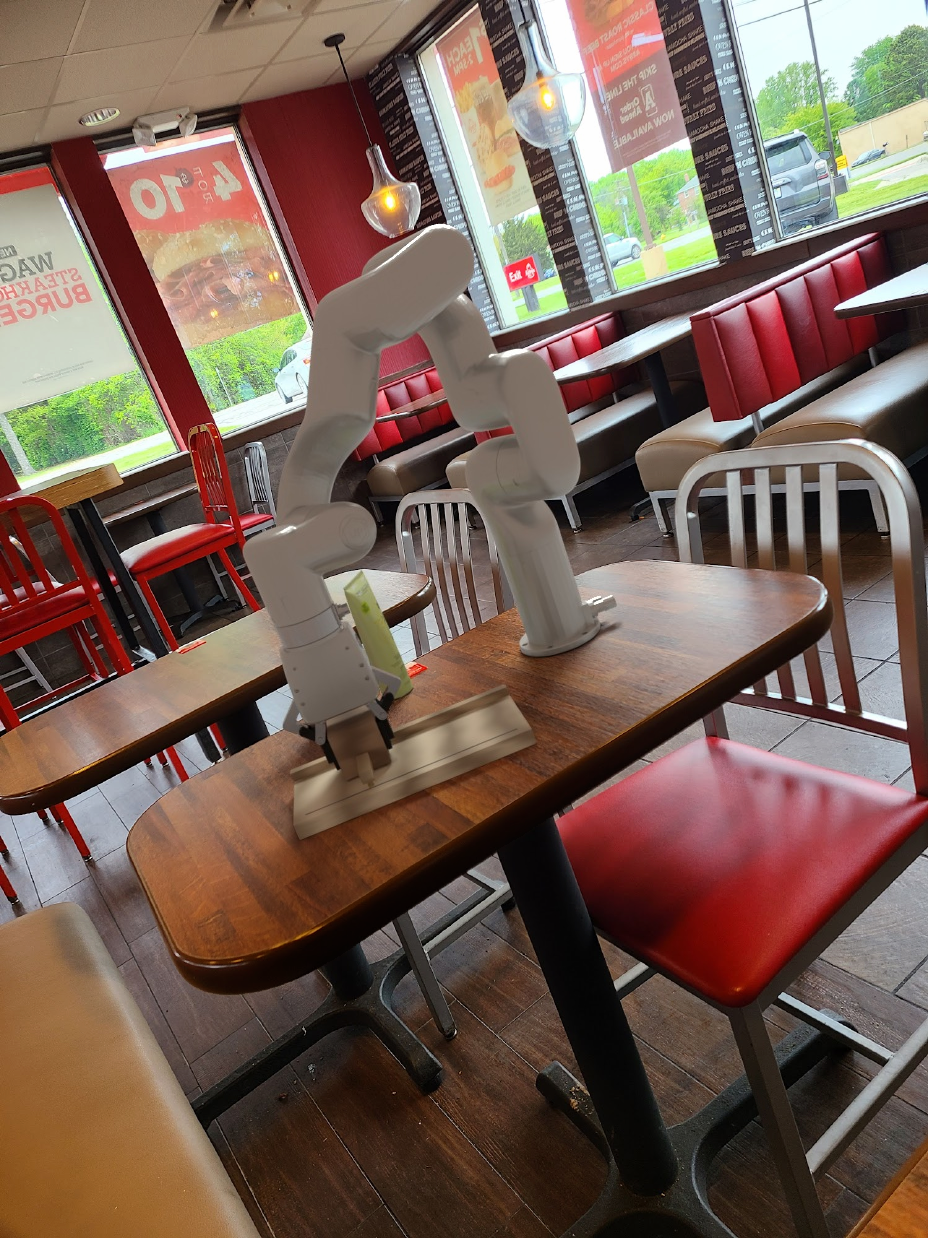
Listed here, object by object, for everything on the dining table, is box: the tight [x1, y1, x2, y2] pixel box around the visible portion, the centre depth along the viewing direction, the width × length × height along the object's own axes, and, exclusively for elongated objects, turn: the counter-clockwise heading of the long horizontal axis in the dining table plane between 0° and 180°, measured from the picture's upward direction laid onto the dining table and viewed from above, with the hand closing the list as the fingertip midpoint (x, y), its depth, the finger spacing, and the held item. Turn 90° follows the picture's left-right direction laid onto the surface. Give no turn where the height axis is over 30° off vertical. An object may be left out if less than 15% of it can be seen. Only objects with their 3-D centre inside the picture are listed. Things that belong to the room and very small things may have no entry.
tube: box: [342, 569, 414, 700], centre depth 131 cm, size 6×5×20 cm
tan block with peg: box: [326, 705, 392, 787], centre depth 107 cm, size 6×11×6 cm, turn 11°
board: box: [290, 683, 538, 841], centre depth 109 cm, size 30×13×3 cm, turn 101°
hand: (363, 754), depth 110 cm, fingers closed on tan block with peg, 6 cm apart
